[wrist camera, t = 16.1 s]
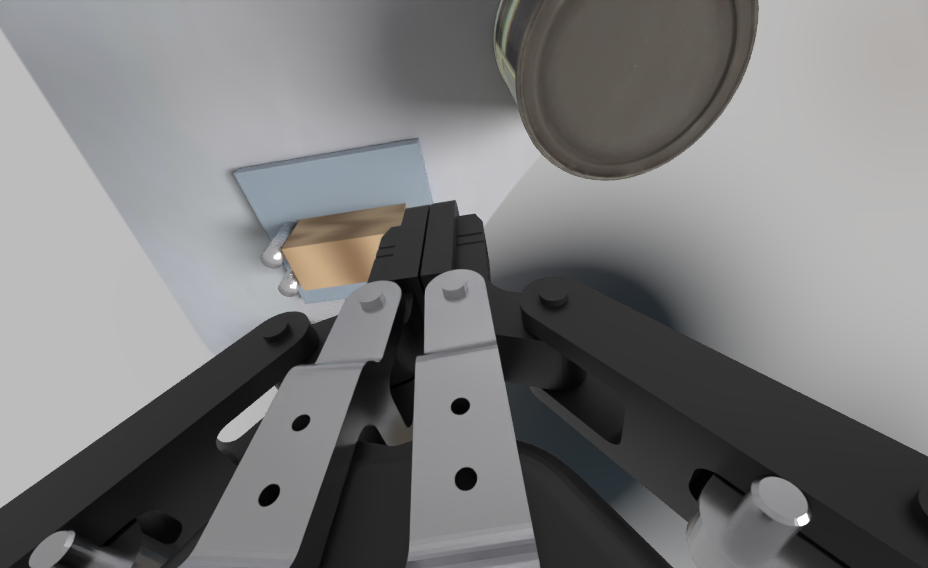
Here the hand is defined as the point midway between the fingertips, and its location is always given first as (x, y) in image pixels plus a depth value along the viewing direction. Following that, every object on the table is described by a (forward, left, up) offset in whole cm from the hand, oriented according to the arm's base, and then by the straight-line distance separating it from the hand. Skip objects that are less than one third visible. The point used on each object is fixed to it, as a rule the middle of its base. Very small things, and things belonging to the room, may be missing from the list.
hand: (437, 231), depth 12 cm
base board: (+11, +12, -23) cm, 28 cm away
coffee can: (-9, -1, -23) cm, 25 cm away
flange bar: (+10, +11, -22) cm, 27 cm away
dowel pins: (+17, +12, -22) cm, 30 cm away
